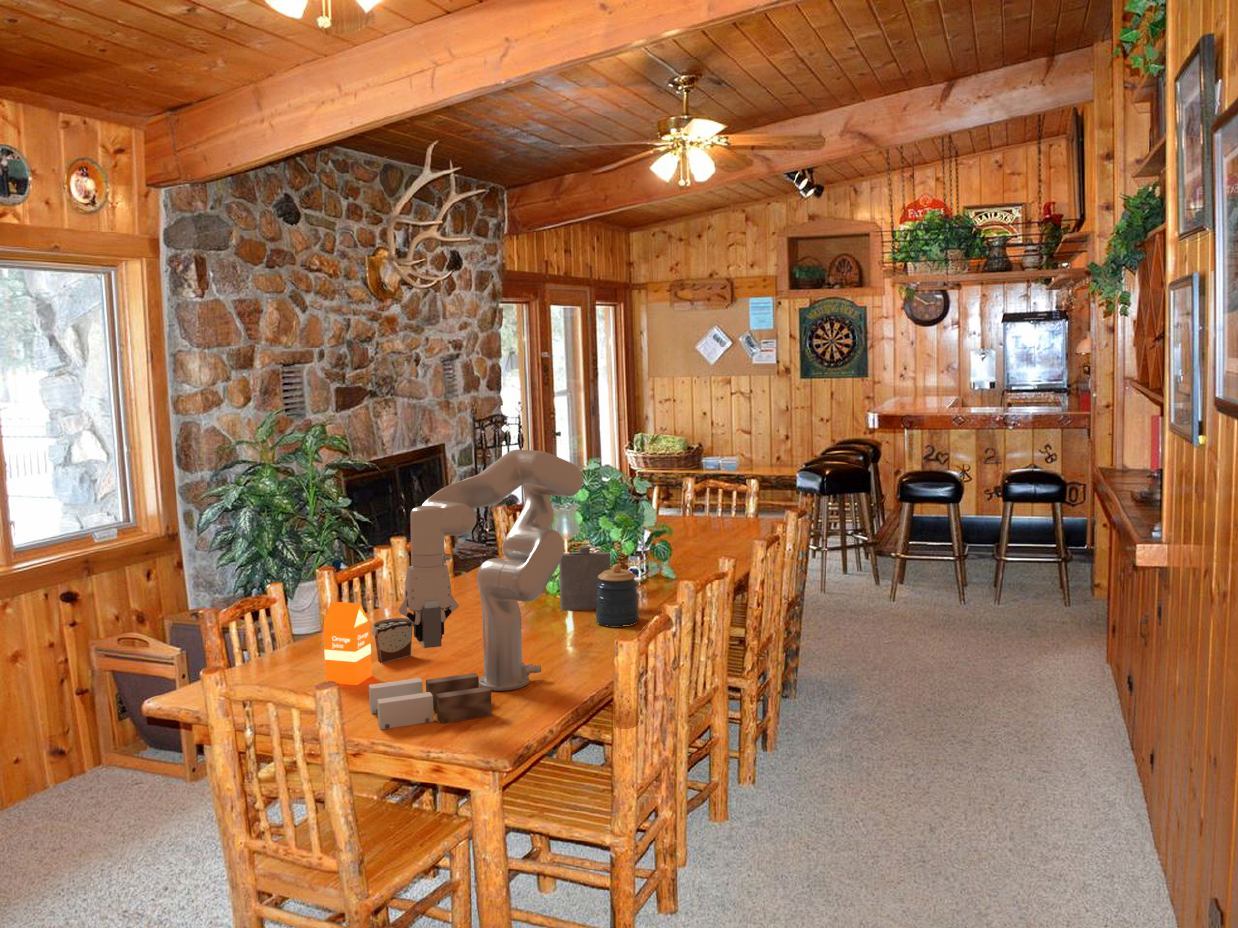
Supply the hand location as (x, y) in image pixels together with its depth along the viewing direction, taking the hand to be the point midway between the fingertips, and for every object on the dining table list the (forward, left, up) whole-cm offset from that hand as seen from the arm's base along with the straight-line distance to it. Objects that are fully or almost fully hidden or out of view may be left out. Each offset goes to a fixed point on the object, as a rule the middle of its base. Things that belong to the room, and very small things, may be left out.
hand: (429, 638), depth 252 cm
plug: (0, 0, -1) cm, 1 cm away
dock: (+7, -2, -18) cm, 19 cm away
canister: (-68, -54, -18) cm, 89 cm away
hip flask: (-65, -73, -18) cm, 99 cm away
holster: (-6, 0, -18) cm, 19 cm away
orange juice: (+14, -34, -18) cm, 41 cm away
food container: (+1, -48, -18) cm, 51 cm away
